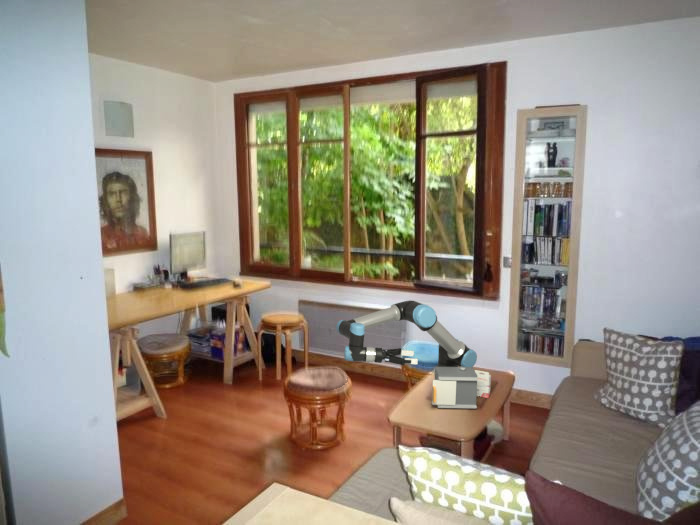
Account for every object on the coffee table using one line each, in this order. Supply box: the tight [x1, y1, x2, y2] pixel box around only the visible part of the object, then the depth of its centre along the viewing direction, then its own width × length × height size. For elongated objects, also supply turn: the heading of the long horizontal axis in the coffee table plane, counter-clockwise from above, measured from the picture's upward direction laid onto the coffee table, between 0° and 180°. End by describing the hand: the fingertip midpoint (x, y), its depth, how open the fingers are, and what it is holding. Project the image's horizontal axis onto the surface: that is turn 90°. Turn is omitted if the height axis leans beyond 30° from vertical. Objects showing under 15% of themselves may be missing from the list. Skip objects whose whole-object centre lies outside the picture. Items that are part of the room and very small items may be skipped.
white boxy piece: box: [431, 379, 456, 406], centre depth 258 cm, size 6×12×13 cm, turn 89°
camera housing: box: [434, 366, 478, 410], centre depth 266 cm, size 14×20×19 cm
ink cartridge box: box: [474, 369, 492, 399], centre depth 278 cm, size 9×5×15 cm, turn 62°
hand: (415, 357), depth 260 cm, fingers open, 13 cm apart
